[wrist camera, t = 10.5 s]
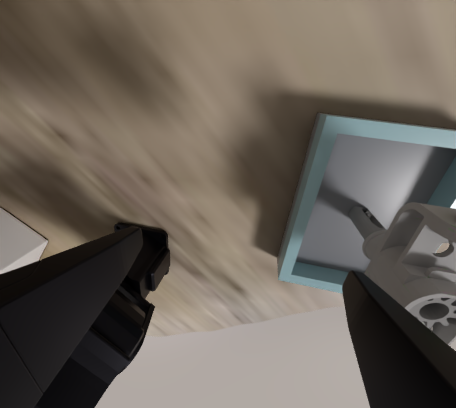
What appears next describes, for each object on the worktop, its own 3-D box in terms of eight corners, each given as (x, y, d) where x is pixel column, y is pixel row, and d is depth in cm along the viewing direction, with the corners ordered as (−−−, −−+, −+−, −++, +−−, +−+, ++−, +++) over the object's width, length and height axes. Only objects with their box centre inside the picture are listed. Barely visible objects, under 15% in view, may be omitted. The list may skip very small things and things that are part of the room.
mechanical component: (405, 158, 16) (570, 231, 7) (354, 261, 21) (416, 382, 12) (363, 152, 16) (473, 215, 8) (322, 255, 21) (360, 368, 12)
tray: (277, 258, 24) (278, 279, 21) (317, 112, 17) (326, 115, 14) (382, 279, 22) (398, 305, 20) (471, 131, 16) (516, 138, 13)
